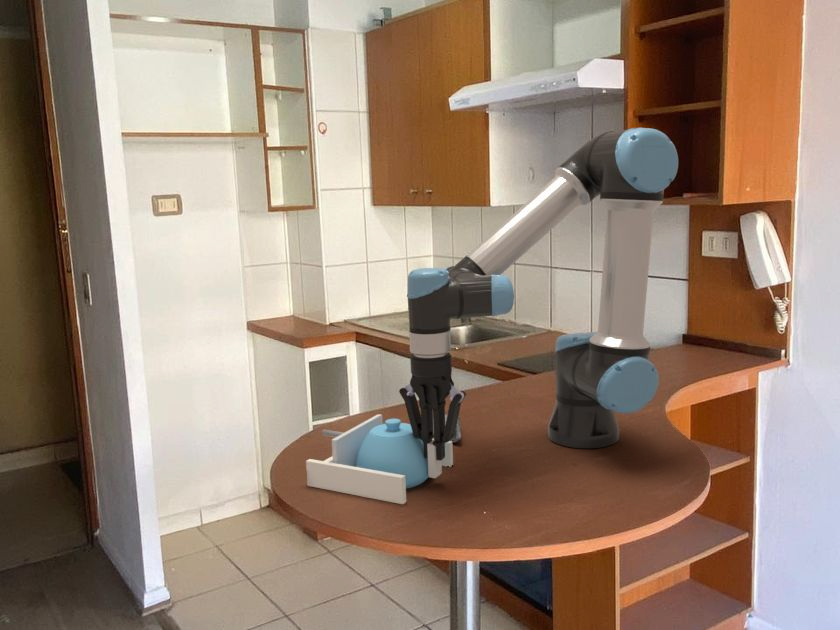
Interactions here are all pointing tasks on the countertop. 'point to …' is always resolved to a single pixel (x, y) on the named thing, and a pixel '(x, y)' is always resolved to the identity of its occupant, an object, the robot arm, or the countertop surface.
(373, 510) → the countertop surface
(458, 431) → the packaged food
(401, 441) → the sugar bowl
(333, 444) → the pusher
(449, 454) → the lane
